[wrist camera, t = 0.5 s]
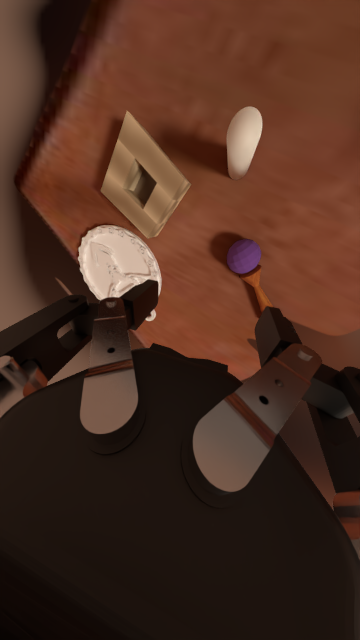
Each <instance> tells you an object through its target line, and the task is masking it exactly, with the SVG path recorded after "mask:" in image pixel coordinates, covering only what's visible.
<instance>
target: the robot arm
mask: <svg viewBox="0 0 360 640" xmlns="http://www.w3.org/2000/svg"><path fill="white" fill-rule="evenodd" d="M158 287H159V284H158V281H155V280H150V279H147V280H146V281H145V282H144V283H142V284H138V285H135V286H134V287H132V288H131V289H130V290H128V291H127V292H126V293H124V294H123V295H121V296H120V297H119V298H118V297H108V298H105V299H102V300H101V301H100V302H99V303H88V301H87V298H86V296H84V295H70V296H66V297H64V298H62V299H60V300H58V301H56V302H55V303H53V304H51V305H49V306H47V307H45V308H43V309H42V310H40V311H38V312H36V313H34V314H33V315H30V316H29V317H27V318H25V319H23V320H21V321H19V322H18V323H16V324H14V325H12V326H10V327H8V328H6V329H4V330H3V331H1V332H0V640H360V436H359V437H358V438H357V436H356V434H355V432H354V430H353V428H352V426H351V424H350V422H349V420H348V418H347V416H348V415H350V414H352V413H355V415H356V417H357V418H358V421H359V423H360V369H357V368H354V367H345V368H344V369H343V370H341V371H340V372H339V371H337V370H334V369H333V368H330V367H328V366H326V365H324V364H322V359H321V357H320V356H319V355H318V354H317V353H316V352H315V351H314V350H312V349H311V348H309V347H307V346H305V345H302V342H301V341H300V339H299V337H298V335H297V333H296V331H295V329H294V327H293V325H292V323H291V322H290V321H289V320H288V319H287V318H286V317H283V315H282V313H281V311H280V309H279V308H274V307H270V306H266V307H265V309H264V311H263V312H262V314H261V316H260V318H259V320H258V322H257V324H256V327H255V336H256V342H257V347H258V353H259V359H260V365H261V369H260V370H259V371H258V372H256V373H255V374H254V375H253V376H252V377H251V378H250V379H249V380H247V381H246V382H245V383H244V384H243V383H242V382H241V381H240V380H238V379H237V378H236V377H235V376H233V375H232V374H230V373H229V372H227V371H228V365H225V364H221V363H218V362H215V361H211V360H208V359H196V358H188V357H185V356H183V355H182V354H180V353H178V352H176V351H174V350H173V349H171V348H168V347H165V346H161V345H158V344H155V343H153V344H152V345H151V347H150V348H140V349H135V350H131V347H130V341H129V334H128V330H129V329H132V330H137V328H138V327H139V326H140V325H141V324H142V323H143V321H144V320H145V319H146V318H147V317H148V315H149V314H150V313H151V312H152V311H153V309H154V308H155V307H156V306H157V303H158ZM68 322H69V324H70V326H71V328H72V329H71V330H70V331H68V332H67V333H66V334H65V335H63V336H62V337H61V338H59V339H58V337H57V332H58V330H59V329H60V328H61V327H63V326H64V325H65V324H67V323H68ZM91 340H92V342H91V351H90V361H89V368H88V369H86V370H84V371H81V372H79V373H76V374H75V375H72V376H70V377H67V378H65V379H63V380H60V381H58V382H55V383H53V384H51V385H48V386H47V383H48V381H49V380H50V379H51V378H52V377H53V376H54V375H55V374H56V373H58V372H59V371H60V370H61V369H62V368H63V367H64V366H65V365H66V363H68V362H69V361H70V360H71V359H72V358H73V357H74V356H75V355H76V354H77V353H78V352H79V351H80V350H81V349H82V348H83V347H84V346H85V345H86V344H87V343H88V342H89V341H91ZM301 399H302V400H304V401H306V402H307V405H308V408H309V411H310V414H311V417H312V421H313V424H314V427H315V430H316V433H317V436H318V439H319V442H320V445H321V448H322V451H323V454H324V458H325V461H326V464H327V467H328V470H329V473H330V476H331V479H332V482H333V486H334V489H335V492H336V494H335V496H334V498H333V509H332V508H331V506H330V505H329V504H328V502H327V501H326V499H325V498H324V497H323V495H322V494H321V492H320V491H319V490H318V488H317V487H316V485H315V484H314V482H313V481H312V480H311V478H310V477H309V475H308V474H307V473H306V471H305V470H304V468H303V467H302V466H301V464H300V463H299V461H298V460H297V458H296V457H295V456H294V454H293V453H292V451H291V450H290V448H289V447H288V446H287V444H286V443H285V441H284V440H283V439H282V437H281V436H280V434H279V433H278V432H279V431H280V429H281V428H282V426H283V425H284V424H285V422H286V421H287V419H288V418H289V416H290V415H291V413H292V412H293V410H294V409H295V407H296V405H297V404H298V403H299V401H300V400H301ZM333 510H334V511H333Z"/></svg>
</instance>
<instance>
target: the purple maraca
mask: <svg viewBox="0 0 360 640" xmlns="http://www.w3.org/2000/svg"><path fill="white" fill-rule="evenodd" d="M260 258H261V250H260V248H259V245H258V244H257V243H255V242H254V241H253V240H249V239H243V240H239V241H237V242H235V243H234V244H233V245H232V246H231V248H230V249H229V251H228V254H227V264H228V266H229V268H230V269H231V270H232V271H234V272H236V273H241V274H240V275H239V277H240V278H241V279H243V280H244V281H246V282H247V283H248V284H250V285H251V286H253V287H254V290H255V293H256V296H257V300H258V303H259V306H260V309H261V312H263V311H264V309H265V307H266V306H270V307H273V306H272V304H271V303H270V301H269V300H268V298H267V296H266V295H265V293H264V292H263V290H262V288H261V287H260V285H259V280H260V272H261V265H257V264H258V262H259V260H260Z"/></svg>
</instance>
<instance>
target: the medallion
mask: <svg viewBox="0 0 360 640" xmlns="http://www.w3.org/2000/svg"><path fill="white" fill-rule="evenodd" d="M78 249H79V257H78V261H79V263H80V267H81V268H80V271H81V272H82V274H83V277H84V281H85V282H86V283H87V284H88V286H89V289H90V290H91V291H92V292H93V293H94V294H95V296H96V297H97V299H99V300H100V299H101V300H102V299H105V298H108V297H118V298H119V297H120V296H121V295H123V294H124V293H126V292H127V291H128V290H130V289H131V288H132V287H134V286H135V285H138V284H142V283H144V282H145V281H146V280H147V279H150V280H155V281H158V284H159V287H158V297H159V294H160V291H161V274H160V269H159V266H158V263H157V261H156V259H155V257H154V255H153V253H152V252H151V250H150V249H149V247H148V246H147V245H146V244H145V243H144V242H143V241H142V239H141V238H139V237H138V236H137V235H135V234H134V233H133V232H131V231H129V230H127V229H125V228H122V227H119V226H114V225H104V226H98V227H96V228H94V229H92V230H90V231H88V233H87V235H86V236H85V237H83V238H82V243H81V247H79V248H78ZM101 300H100V301H101ZM151 315H152V316H151V317H149V316H148V317H147V318H146V319H145V320H147V321H152V320H153V319H154V318H155V316H156V312H155V310H154V309H153V311H152V312H151Z"/></svg>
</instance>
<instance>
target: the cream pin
mask: <svg viewBox="0 0 360 640" xmlns="http://www.w3.org/2000/svg"><path fill="white" fill-rule="evenodd" d="M261 132H262V117H261V114H260V113H259V111H258V110H257V109H256V108H254V107H245V108H243V109H241V110H240V111H239V112H238V113H237V114H236V115H235V116H234V118H233V119H232V121H231V123H230V125H229V128H228V132H227V158H228V173H229V176H230V177H231V178H232V179H233V180H239V179H241V178H242V177H243V176H244V175H245V174H246V173H247V171H248V168H249V165H250V163H251V160H252V157H253V155H254V152H255V149H256V147H257V144H258V141H259V139H260V136H261Z"/></svg>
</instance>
